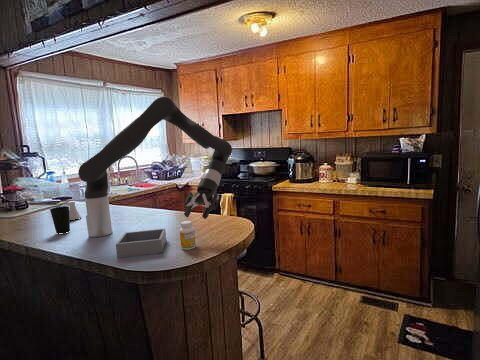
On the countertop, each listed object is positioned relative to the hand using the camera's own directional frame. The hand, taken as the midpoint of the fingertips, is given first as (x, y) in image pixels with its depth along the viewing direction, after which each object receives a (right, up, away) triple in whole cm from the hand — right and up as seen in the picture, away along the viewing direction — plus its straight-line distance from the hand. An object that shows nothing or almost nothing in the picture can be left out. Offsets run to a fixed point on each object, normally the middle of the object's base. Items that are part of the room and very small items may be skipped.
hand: (194, 217), depth 115 cm
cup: (-67, -11, +27) cm, 73 cm away
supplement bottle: (-2, -11, -3) cm, 12 cm away
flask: (-75, -8, +52) cm, 92 cm away
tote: (-19, -12, -1) cm, 23 cm away
